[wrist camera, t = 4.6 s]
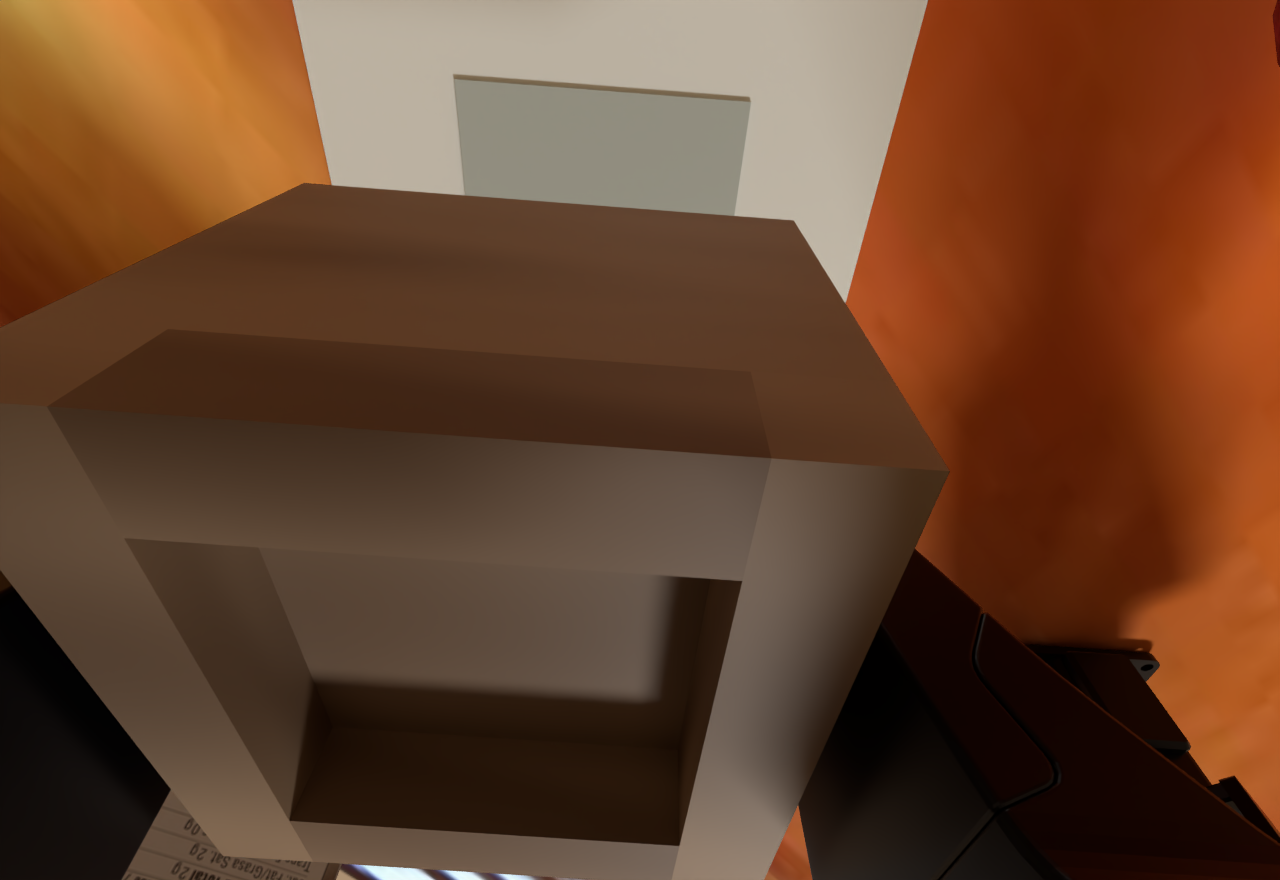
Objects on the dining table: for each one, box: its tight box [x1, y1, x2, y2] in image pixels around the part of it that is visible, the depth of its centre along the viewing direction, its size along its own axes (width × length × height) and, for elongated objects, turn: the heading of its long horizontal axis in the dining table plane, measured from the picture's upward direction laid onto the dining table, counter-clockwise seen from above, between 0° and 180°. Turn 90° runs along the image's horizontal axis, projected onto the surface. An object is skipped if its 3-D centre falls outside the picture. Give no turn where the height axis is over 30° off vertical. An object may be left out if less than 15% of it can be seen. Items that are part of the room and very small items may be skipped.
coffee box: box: [122, 790, 342, 880], centre depth 19 cm, size 9×6×16 cm
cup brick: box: [0, 183, 950, 880], centre depth 7 cm, size 6×6×5 cm
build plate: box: [292, 0, 928, 303], centre depth 17 cm, size 20×14×1 cm
